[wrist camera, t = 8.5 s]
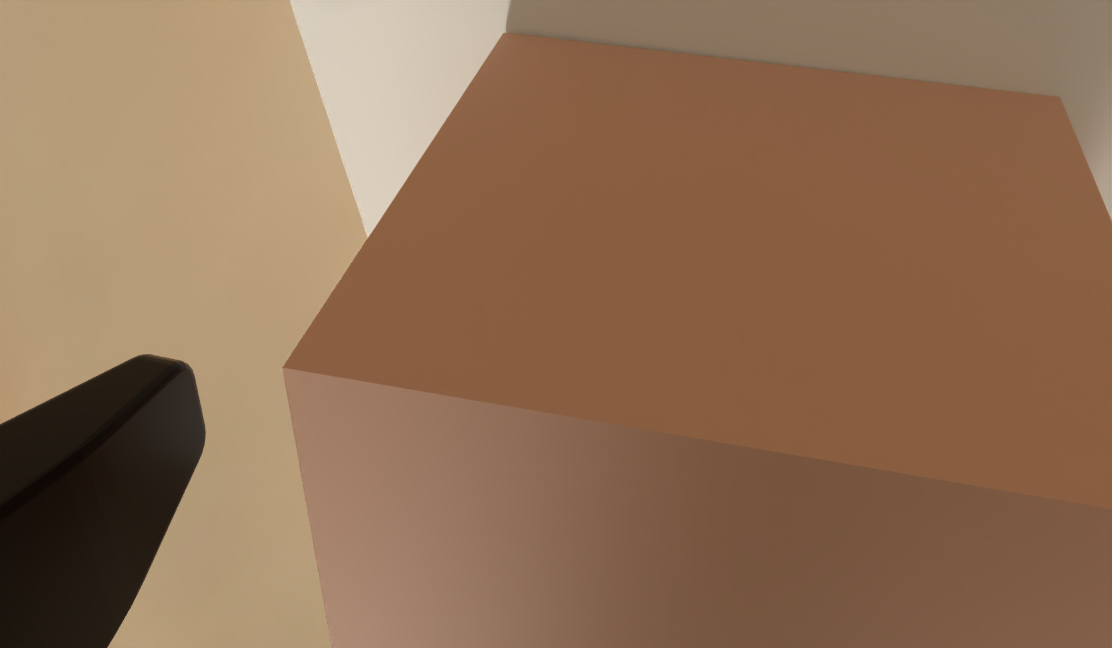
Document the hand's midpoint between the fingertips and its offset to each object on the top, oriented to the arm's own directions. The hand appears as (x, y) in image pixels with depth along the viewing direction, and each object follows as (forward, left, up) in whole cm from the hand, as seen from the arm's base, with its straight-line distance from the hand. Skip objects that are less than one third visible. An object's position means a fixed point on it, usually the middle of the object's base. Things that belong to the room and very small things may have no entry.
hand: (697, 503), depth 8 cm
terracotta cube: (0, 0, -3) cm, 3 cm away
